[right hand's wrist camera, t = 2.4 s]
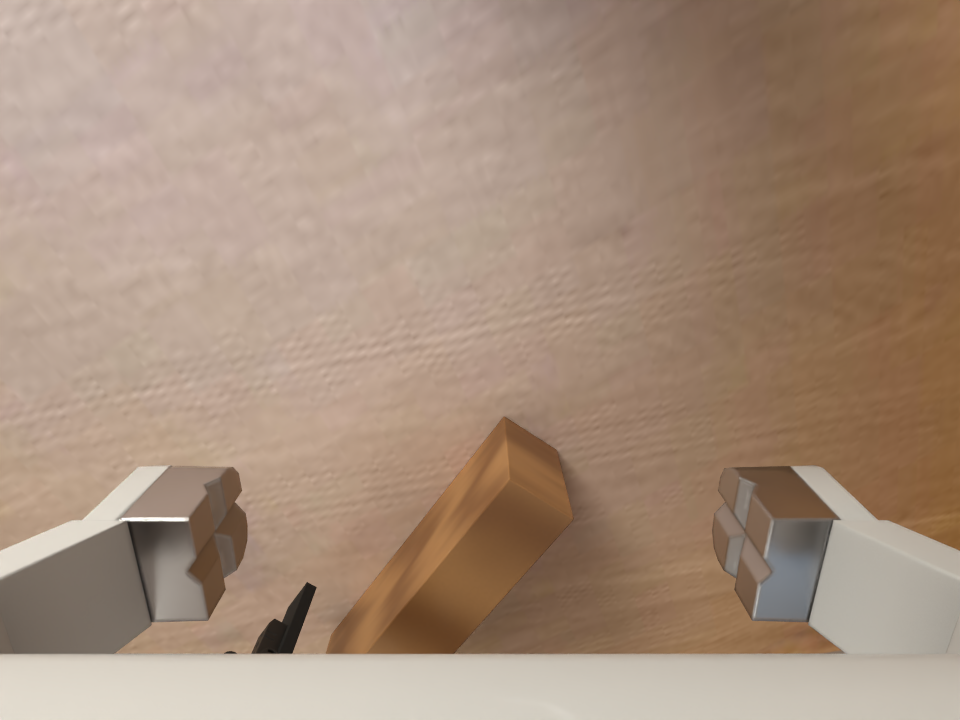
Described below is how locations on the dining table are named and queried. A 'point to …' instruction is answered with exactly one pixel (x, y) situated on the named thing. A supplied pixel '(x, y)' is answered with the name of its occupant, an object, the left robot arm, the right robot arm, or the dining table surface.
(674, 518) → the dining table surface
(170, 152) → the dining table surface
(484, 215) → the dining table surface
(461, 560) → the bar
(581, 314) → the dining table surface
